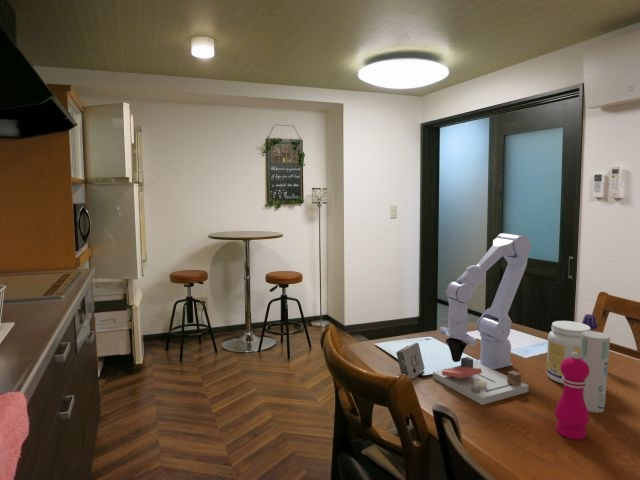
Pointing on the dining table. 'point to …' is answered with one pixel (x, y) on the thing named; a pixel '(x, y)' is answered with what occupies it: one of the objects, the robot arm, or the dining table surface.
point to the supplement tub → (563, 345)
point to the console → (482, 385)
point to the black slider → (467, 362)
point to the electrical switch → (410, 360)
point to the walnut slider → (514, 378)
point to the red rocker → (461, 372)
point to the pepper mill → (572, 399)
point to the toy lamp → (590, 321)
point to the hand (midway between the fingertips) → (456, 361)
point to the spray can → (595, 368)
